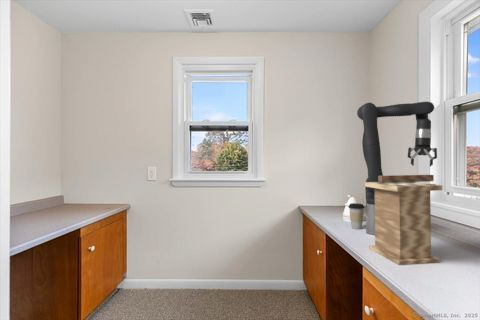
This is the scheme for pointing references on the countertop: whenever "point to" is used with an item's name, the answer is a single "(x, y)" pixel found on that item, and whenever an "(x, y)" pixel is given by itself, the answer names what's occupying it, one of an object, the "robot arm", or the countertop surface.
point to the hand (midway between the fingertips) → (421, 166)
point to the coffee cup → (356, 215)
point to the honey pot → (346, 210)
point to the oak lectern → (403, 221)
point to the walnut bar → (406, 178)
